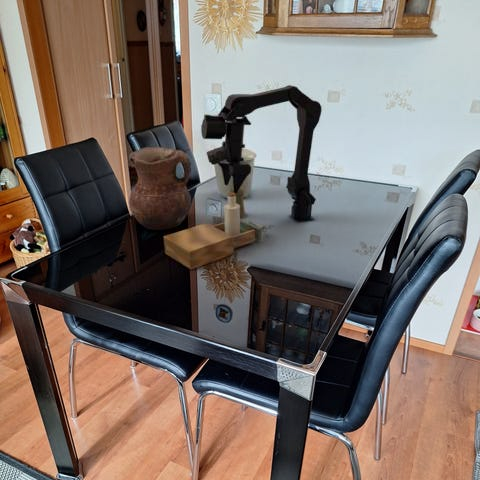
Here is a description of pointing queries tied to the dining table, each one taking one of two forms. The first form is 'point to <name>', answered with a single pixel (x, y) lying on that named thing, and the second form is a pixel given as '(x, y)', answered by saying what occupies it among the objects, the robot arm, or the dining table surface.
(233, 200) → the bottle
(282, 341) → the dining table surface
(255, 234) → the drawer
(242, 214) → the pepper mill
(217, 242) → the wooden box
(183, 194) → the jug
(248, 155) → the canister
